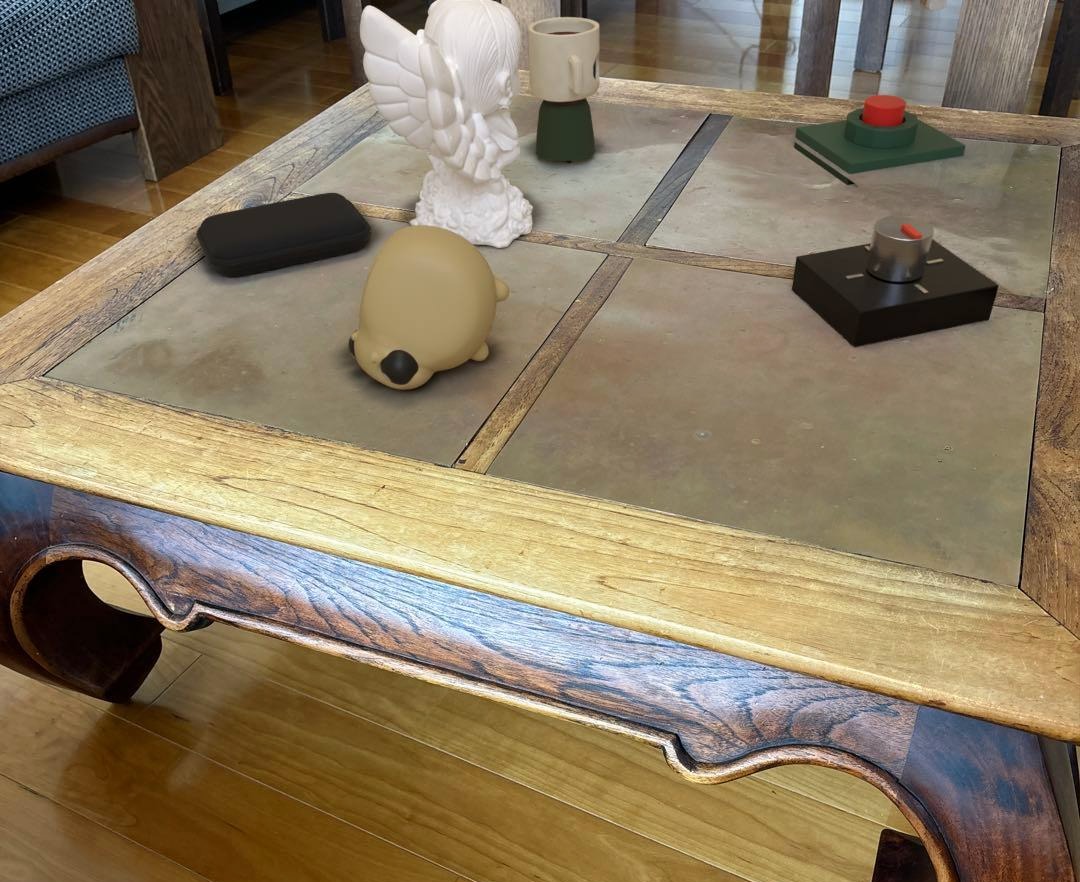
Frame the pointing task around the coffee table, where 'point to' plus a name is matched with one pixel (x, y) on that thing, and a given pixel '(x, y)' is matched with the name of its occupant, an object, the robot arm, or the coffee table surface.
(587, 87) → the character mug
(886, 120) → the light button
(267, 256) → the carrying case
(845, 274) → the dimmer panel
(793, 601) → the coffee table surface
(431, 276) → the tan pug toy
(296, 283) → the coffee table surface
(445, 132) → the cherub figurine
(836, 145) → the lamp switch
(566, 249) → the coffee table surface
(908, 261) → the dimmer knob
